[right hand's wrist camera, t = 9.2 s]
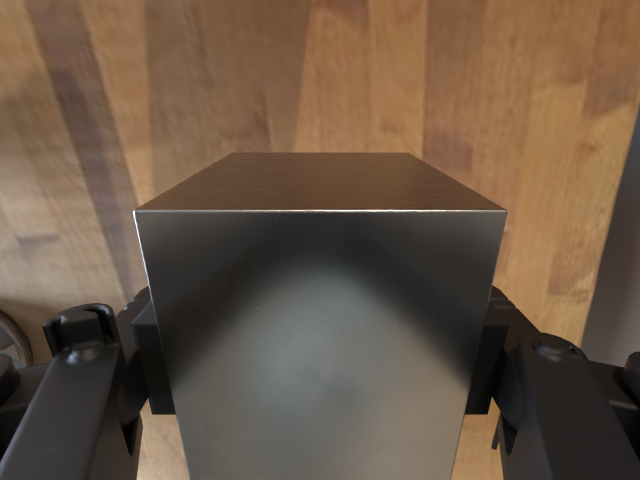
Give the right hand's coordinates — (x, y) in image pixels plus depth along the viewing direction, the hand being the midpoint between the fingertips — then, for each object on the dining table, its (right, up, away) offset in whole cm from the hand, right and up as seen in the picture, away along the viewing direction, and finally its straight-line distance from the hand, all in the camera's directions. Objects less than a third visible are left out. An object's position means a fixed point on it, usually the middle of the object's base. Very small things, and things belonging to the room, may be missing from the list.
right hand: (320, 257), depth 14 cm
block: (0, 0, +1) cm, 1 cm away
